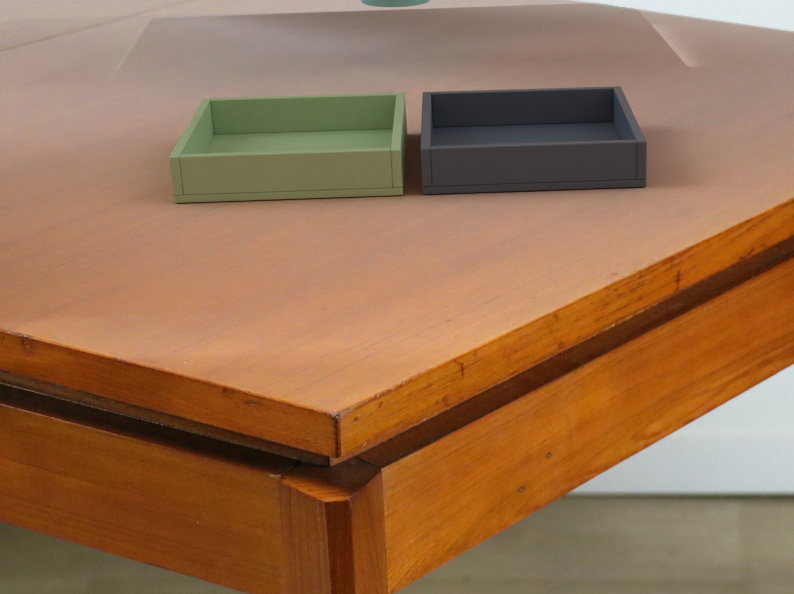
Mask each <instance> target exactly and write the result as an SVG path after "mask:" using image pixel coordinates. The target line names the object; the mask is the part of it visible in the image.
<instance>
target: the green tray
mask: <svg viewBox="0 0 794 594" xmlns="http://www.w3.org/2000/svg"><path fill="white" fill-rule="evenodd" d="M406 102H407V101H406V93H405V92H381V93H380V92H377V93H373V92H372V93H343V94H342V93H341V94H310V95H309V94H308V95H305V94H304V95H277V96H276V95H275V96H243V97H239V96H238V97H212V98H210V97H209V98H207V97H206V98H202V99H201V101H200V102H199V104H198V106H197V108H196V109H195V111H194V113H193V115H192V117H190V118H191V119H190V120H189V122H188V123H187V124H186V127H185V129H184V130H183V132H182V134H181V136H180V137H179V139H178V141H177V143H176V144H175V146H174V147H173V149H172V151H171V153H170V155H169V156H168V162H169V171H170V178H171V185H172V195H173V202H174V203H175V204H184V203H185V204H187V203H213V202H214V203H215V202H216V203H217V202H242V201H245V202H247V201H270V200H271V201H272V200H302V199H303V200H304V199H329V198H330V199H333V198H356V197H359V198H361V197H385V196H389V197H390V196H391V197H392V196H403V195H404V189H405V187H404V186H405V172H406V158H407V144H408V143H407V142H408V122H407V121H408V120H407V119H408V118H407V103H406Z"/></svg>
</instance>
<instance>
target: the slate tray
mask: <svg viewBox="0 0 794 594" xmlns="http://www.w3.org/2000/svg"><path fill="white" fill-rule="evenodd" d="M421 97H422V98H421V120H420V121H421V124H420V127H421V128H420V165H421V166H420V168H421V185H422V195H444V194H448V195H449V194H474V193H503V192H505V193H507V192H533V191H534V192H535V191H561V190H562V191H563V190H591V189H617V188H618V189H621V188H622V189H623V188H645V187H647V164H648V163H647V158H648V157H647V154H648V152H647V149H648V148H647V147H648V146H647V145H648V143H647V140H646V138H645V136H644V133H643V132H642V129H641V127H640V125H639V123H638V121H637V118H636V116H635V114H634V111H633V110H632V107H631V105H630V103H629V101H628V99H627V97H626V95H625V93H624V91H623V88H622V86H621V85H615V86H583V87H582V86H581V87H580V86H579V87H550V88H549V87H545V88H542V87H541V88H516V89H515V88H512V89H511V88H509V89H481V90H479V89H478V90H477V89H476V90H447V91H442V90H441V91H422V96H421Z"/></svg>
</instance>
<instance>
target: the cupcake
mask: <svg viewBox="0 0 794 594" xmlns="http://www.w3.org/2000/svg"><path fill="white" fill-rule="evenodd" d="M430 1H431V0H360V2H361V3H362V4H364V5H367V6H370V7H379V8H407V7H413V6H414V7H415V6H420V5H424V4H427V3H429V2H430Z"/></svg>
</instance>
